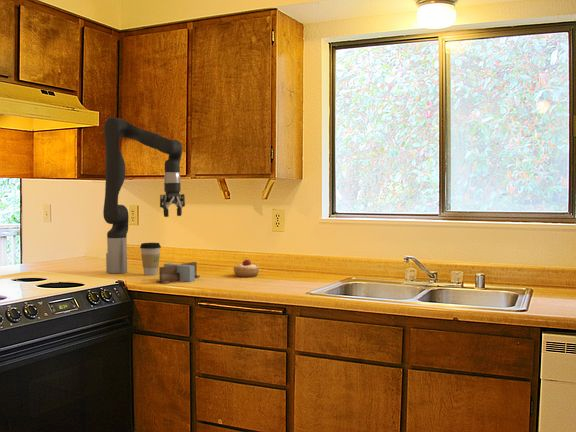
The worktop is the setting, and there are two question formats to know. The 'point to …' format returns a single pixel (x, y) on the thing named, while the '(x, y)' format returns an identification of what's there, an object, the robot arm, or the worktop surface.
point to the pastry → (246, 269)
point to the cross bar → (184, 271)
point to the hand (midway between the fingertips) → (172, 216)
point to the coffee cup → (150, 258)
